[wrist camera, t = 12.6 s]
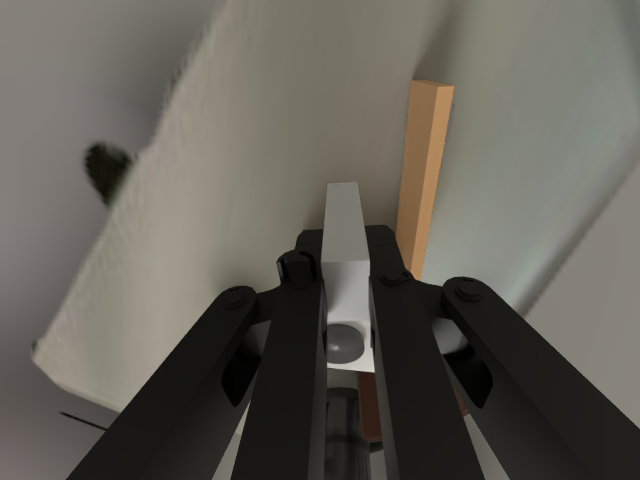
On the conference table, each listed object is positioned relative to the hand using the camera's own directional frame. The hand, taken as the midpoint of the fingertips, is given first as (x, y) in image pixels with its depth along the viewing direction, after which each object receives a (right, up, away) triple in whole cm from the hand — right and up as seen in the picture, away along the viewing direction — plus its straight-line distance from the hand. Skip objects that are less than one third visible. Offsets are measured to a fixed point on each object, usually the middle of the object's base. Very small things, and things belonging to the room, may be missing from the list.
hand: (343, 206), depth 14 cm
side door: (+10, +4, +20) cm, 23 cm away
